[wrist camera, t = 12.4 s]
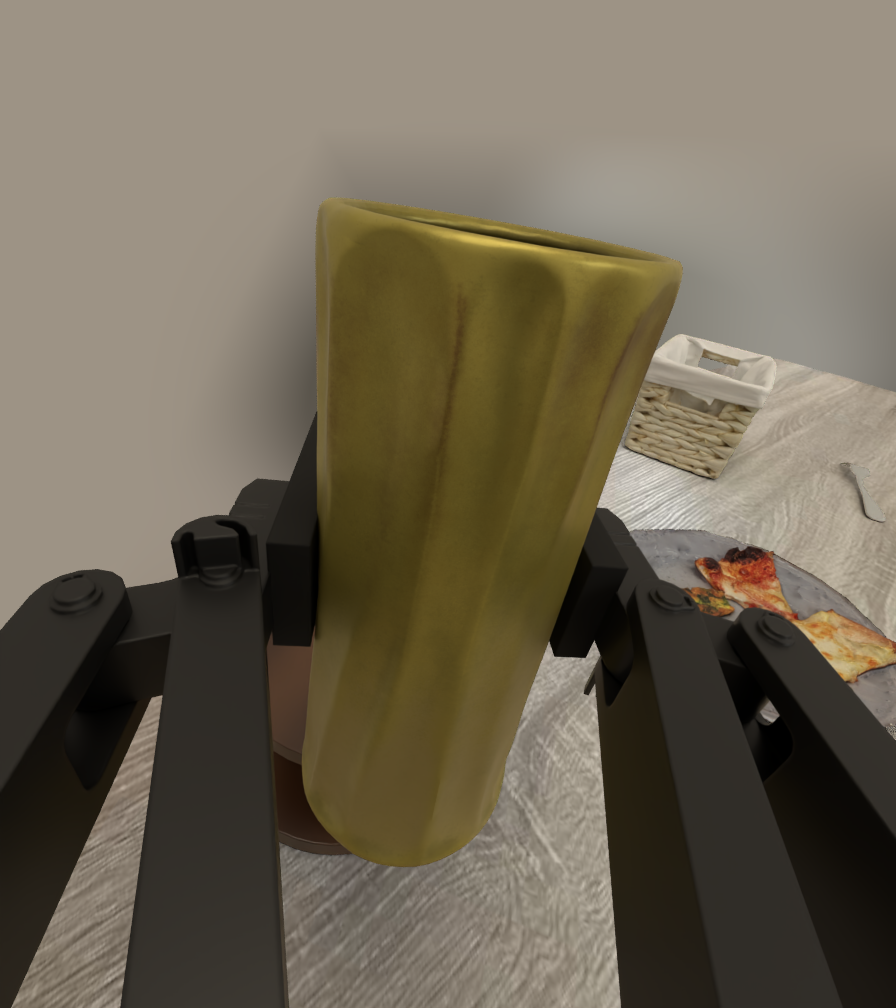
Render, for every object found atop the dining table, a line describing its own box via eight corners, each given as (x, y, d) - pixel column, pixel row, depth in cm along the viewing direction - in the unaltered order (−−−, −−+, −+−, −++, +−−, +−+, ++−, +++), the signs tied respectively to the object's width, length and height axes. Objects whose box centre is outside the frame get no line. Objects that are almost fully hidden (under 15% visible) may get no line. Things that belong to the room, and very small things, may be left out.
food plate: (755, 542, 56) (771, 518, 54) (968, 728, 37) (1003, 701, 36) (564, 545, 50) (574, 517, 48) (706, 769, 31) (731, 740, 29)
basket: (721, 489, 67) (776, 388, 59) (610, 447, 73) (646, 352, 65) (735, 439, 85) (779, 357, 77) (645, 410, 91) (677, 331, 83)
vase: (347, 651, 17) (370, 196, 10) (509, 694, 17) (670, 251, 9) (261, 833, 12) (168, 180, 5) (490, 901, 12) (813, 302, 4)
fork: (853, 529, 68) (865, 514, 66) (836, 463, 83) (846, 449, 81) (876, 536, 67) (889, 522, 65) (854, 468, 82) (865, 455, 80)
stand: (176, 830, 24) (150, 754, 20) (282, 623, 36) (278, 549, 32) (449, 877, 24) (475, 810, 20) (465, 655, 36) (483, 586, 32)
